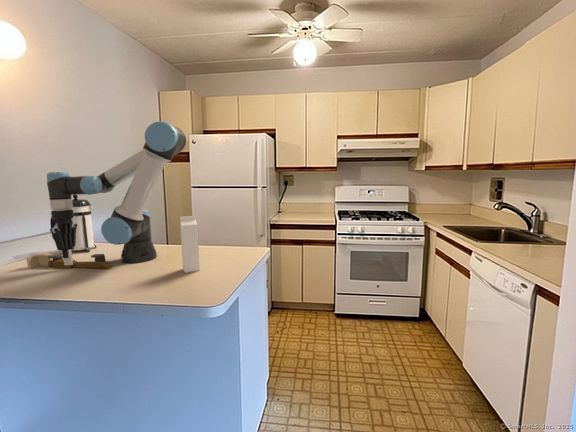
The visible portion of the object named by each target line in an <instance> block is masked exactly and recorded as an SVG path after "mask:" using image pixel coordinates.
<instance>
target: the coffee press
mask: <svg viewBox="0 0 576 432" xmlns="http://www.w3.org/2000/svg"><path fill="white" fill-rule="evenodd" d="M72 198H73V199H72V204H73V208H71V209H72V210H73V214H74V218H72V221H73V223H74V224H77V228H76V243H75V247H74V249H72V252H73V251H82V250H83V251H85V253H90V251H91V248H93V249H96V248H97V245H96V244H95V241H94V240H95V239H94V230H93V220H92V210H94V207H93V205H91V203H90V201H89V200H88V199H82V198H81V199H80V198H79V195H72ZM49 220H50V229H51V228H53V227H54V223H55V221H54V220H53V219H52V217H50V219H49ZM51 236H52V239H53V240H54V238H53V235H52V234H51Z"/></svg>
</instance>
